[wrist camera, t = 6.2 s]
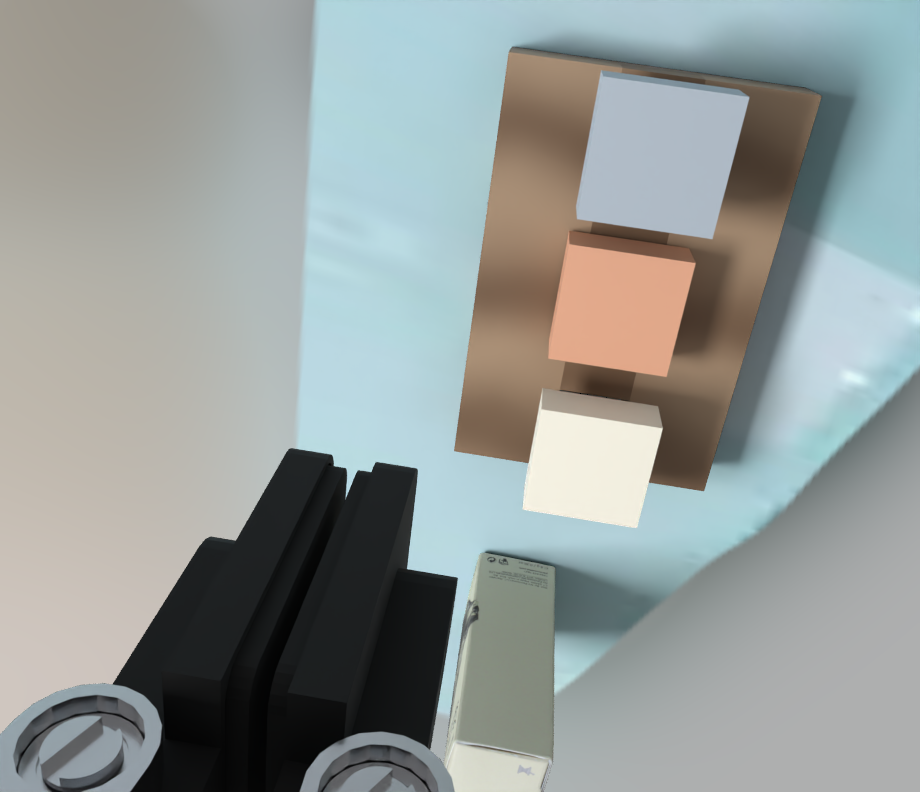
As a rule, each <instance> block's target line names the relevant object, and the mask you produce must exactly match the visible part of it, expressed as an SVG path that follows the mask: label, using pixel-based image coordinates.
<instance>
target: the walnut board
mask: <svg viewBox="0 0 920 792" xmlns="http://www.w3.org/2000/svg"><path fill="white" fill-rule="evenodd" d="M601 70H603V71H610V72H617V73H624V74H632V75H639V76H646V77H653V78H660V79H667V80H674V81H681V82H688V83H695V84H703V85H710V86H717V87H724V88H731V89H738V90H740V91H742V92H743V93H745V94H746V95H747V96H749V101H748V105H747V109H746V113H745V117H744V120H743V124H742V128H741V132H740V136H739V139H738V143H737V147H736V151H735V155H734V159H733V162H732V166H731V170H730V174H729V178H728V181H727V185H726V189H725V193H724V197H723V201H722V204H721V208H720V212H719V216H718V220H717V223H716V227H715V231H714V235H713V239H708V238H701V237H694V236H688V235H681V234H674V233H667V232H661V231H654V230H647V229H640V228H634V227H627V226H620V225H613V224H607V223H600V222H593V221H586V220H580V219H577V213H576V204H577V198H578V193H579V187H580V182H581V177H582V171H583V166H584V160H585V155H586V149H587V144H588V139H589V133H590V128H591V122H592V117H593V111H594V106H595V101H596V95H597V90H598V84H599V79H600V73H601ZM821 97H822V96H821V95H819V94H817V93H815V92H813V91H811V90H809V89H807V88H804V87H797V86H789V85H782V84H775V83H768V82H761V81H754V80H747V79H739V78H732V77H725V76H718V75H711V74H704V73H697V72H689V71H682V70H675V69H668V68H661V67H654V66H647V65H640V64H632V63H625V62H618V61H611V60H604V59H597V58H590V57H582V56H575V55H568V54H561V53H554V52H547V51H540V50H533V49H525V48H518V47H512V48H511V49H510V51H509V54H508V62H507V69H506V76H505V84H504V91H503V98H502V105H501V113H500V120H499V127H498V135H497V142H496V149H495V157H494V164H493V171H492V178H491V186H490V193H489V200H488V208H487V215H486V222H485V230H484V237H483V244H482V251H481V259H480V266H479V273H478V281H477V288H476V295H475V303H474V310H473V317H472V324H471V332H470V339H469V346H468V354H467V361H466V368H465V376H464V383H463V390H462V398H461V405H460V412H459V419H458V427H457V434H456V441H455V449H454V451H456V452H463V453H469V454H475V455H481V456H488V457H494V458H500V459H506V460H513V461H519V462H525V463H529V459H530V453H531V448H532V443H533V437H534V432H535V426H536V421H537V415H538V410H539V405H540V399H541V394H542V388H545V389H551V390H558V391H560V390H565V391H572V392H578V393H585V394H591V395H597V396H604V397H610V398H616V399H621V400H622V401H628V402H634V403H641V404H647V405H653V406H658V408H659V413H660V418H661V422H662V427H663V430H662V434H661V437H660V441H659V445H658V449H657V453H656V456H655V460H654V464H653V468H652V472H651V476H650V479H649V482H650V483H656V484H662V485H668V486H675V487H681V488H687V489H693V490H699V491H704V489H705V486H706V483H707V479H708V476H709V473H710V469H711V466H712V462H713V459H714V456H715V452H716V449H717V446H718V442H719V439H720V436H721V432H722V429H723V426H724V422H725V419H726V416H727V412H728V409H729V405H730V402H731V399H732V395H733V392H734V389H735V385H736V382H737V379H738V375H739V372H740V369H741V365H742V362H743V359H744V355H745V352H746V348H747V345H748V342H749V338H750V335H751V332H752V328H753V325H754V322H755V318H756V315H757V312H758V308H759V305H760V301H761V298H762V295H763V291H764V288H765V285H766V281H767V278H768V275H769V271H770V268H771V265H772V261H773V258H774V255H775V251H776V248H777V244H778V241H779V238H780V234H781V231H782V228H783V224H784V221H785V218H786V214H787V211H788V208H789V204H790V201H791V198H792V194H793V191H794V187H795V184H796V181H797V177H798V174H799V171H800V167H801V164H802V161H803V157H804V154H805V151H806V147H807V144H808V141H809V137H810V134H811V130H812V127H813V124H814V120H815V117H816V114H817V110H818V107H819V104H820V100H821ZM569 231H576V232H582V233H589V234H596V235H602V236H609V237H616V238H623V239H629V240H636V241H643V242H649V243H656V244H663V245H670V246H676V247H683V248H689V249H690V251H691V254H692V256H693V258H694V260H695V263H696V264H695V268H694V272H693V276H692V280H691V284H690V287H689V291H688V295H687V299H686V303H685V307H684V311H683V315H682V319H681V323H680V327H679V330H678V334H677V338H676V342H675V346H674V350H673V354H672V358H671V362H670V366H669V369H668V373H667V377H664V376H657V375H651V374H644V373H638V372H631V371H625V370H619V369H612V368H606V367H599V366H593V365H586V364H580V363H573V362H567V361H561V360H554V359H548V352H549V338H550V332H551V327H552V321H553V316H554V310H555V305H556V299H557V294H558V288H559V283H560V277H561V272H562V266H563V261H564V256H565V250H566V245H567V239H568V234H569Z"/></svg>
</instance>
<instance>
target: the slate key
mask: <svg viewBox="0 0 920 792" xmlns="http://www.w3.org/2000/svg"><path fill="white" fill-rule="evenodd" d="M748 101H749V96H747V95H746V94H745V93H743V92H742V91H740V90H738V89H731V88H724V87H717V86H710V85H703V84H695V83H688V82H681V81H674V80H667V79H660V78H653V77H646V76H639V75H632V74H624V73H617V72H610V71H603V70H601V73H600V79H599V84H598V90H597V95H596V101H595V106H594V111H593V117H592V122H591V128H590V133H589V139H588V144H587V149H586V155H585V160H584V166H583V171H582V177H581V182H580V187H579V193H578V198H577V204H576V213H577V219H580V220H586V221H593V222H600V223H607V224H613V225H620V226H627V227H634V228H640V229H647V230H654V231H661V232H667V233H674V234H681V235H688V236H694V237H701V238H708V239H713V235H714V231H715V227H716V223H717V220H718V216H719V212H720V208H721V204H722V201H723V197H724V193H725V189H726V185H727V181H728V178H729V174H730V170H731V166H732V162H733V159H734V155H735V151H736V147H737V143H738V139H739V136H740V132H741V128H742V124H743V120H744V117H745V113H746V109H747V105H748Z"/></svg>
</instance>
